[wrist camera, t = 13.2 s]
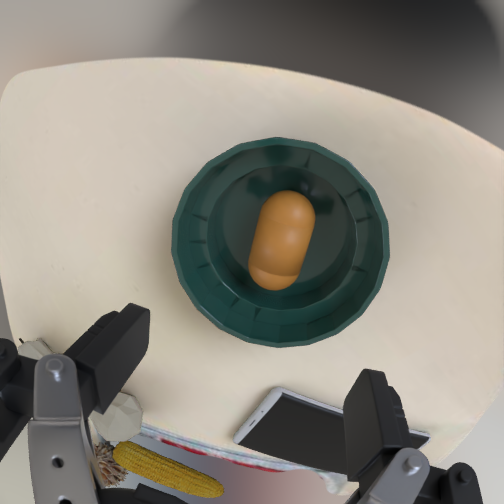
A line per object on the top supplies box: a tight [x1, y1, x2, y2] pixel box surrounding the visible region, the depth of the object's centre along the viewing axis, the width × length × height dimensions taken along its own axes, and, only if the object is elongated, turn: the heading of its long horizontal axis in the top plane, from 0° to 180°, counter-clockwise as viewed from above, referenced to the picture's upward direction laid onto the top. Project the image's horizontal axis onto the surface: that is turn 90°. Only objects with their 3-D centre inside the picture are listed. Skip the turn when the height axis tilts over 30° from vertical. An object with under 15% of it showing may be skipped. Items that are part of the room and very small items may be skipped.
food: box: [112, 440, 224, 498], centre depth 40 cm, size 21×6×6 cm, turn 67°
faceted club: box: [18, 338, 143, 441], centre depth 35 cm, size 9×8×25 cm
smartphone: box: [233, 387, 431, 475], centre depth 34 cm, size 13×27×2 cm, turn 65°
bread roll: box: [248, 190, 315, 291], centre depth 24 cm, size 8×4×4 cm, turn 167°
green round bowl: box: [171, 137, 390, 348], centre depth 24 cm, size 16×16×6 cm
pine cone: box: [93, 442, 128, 487], centre depth 43 cm, size 22×10×10 cm, turn 155°
